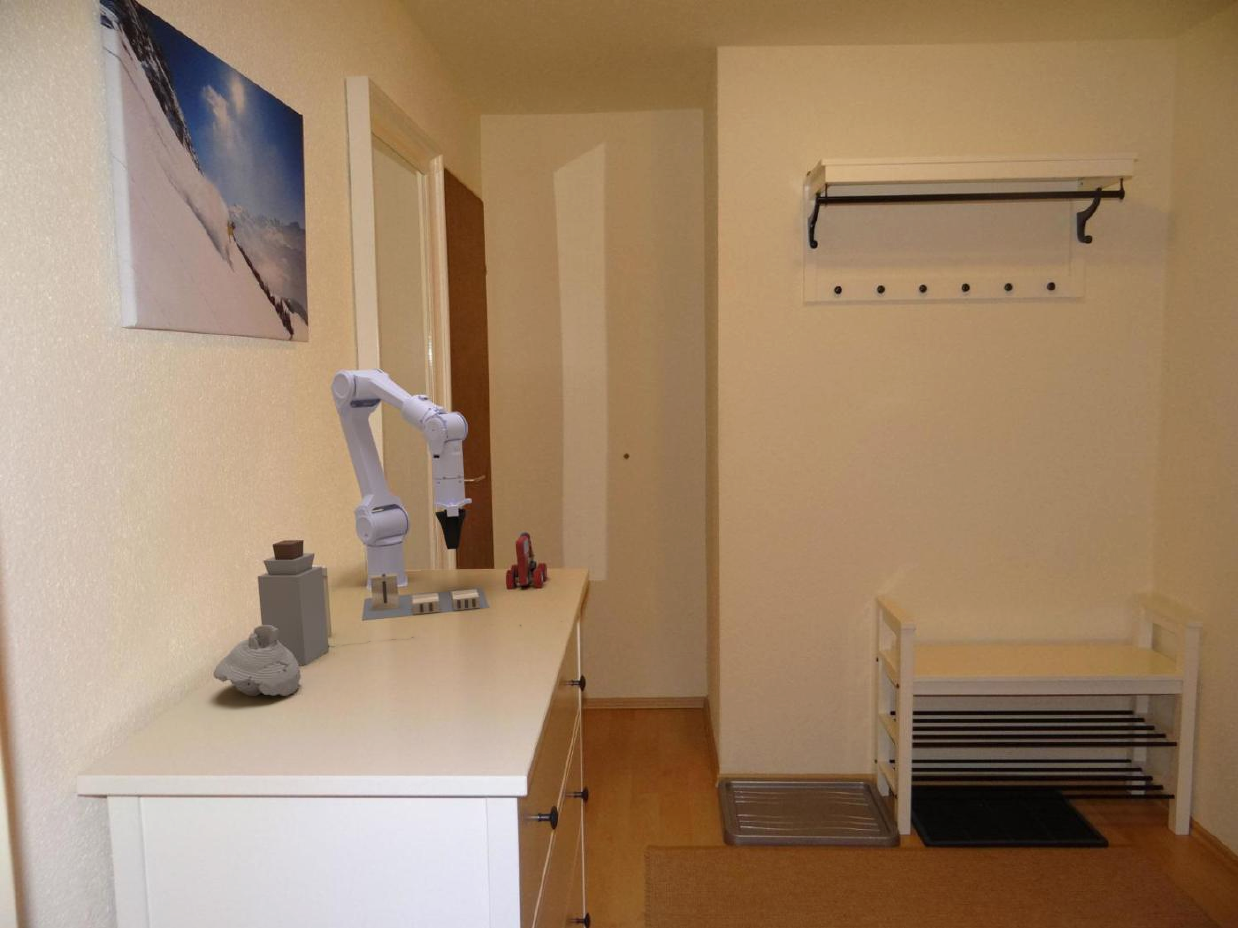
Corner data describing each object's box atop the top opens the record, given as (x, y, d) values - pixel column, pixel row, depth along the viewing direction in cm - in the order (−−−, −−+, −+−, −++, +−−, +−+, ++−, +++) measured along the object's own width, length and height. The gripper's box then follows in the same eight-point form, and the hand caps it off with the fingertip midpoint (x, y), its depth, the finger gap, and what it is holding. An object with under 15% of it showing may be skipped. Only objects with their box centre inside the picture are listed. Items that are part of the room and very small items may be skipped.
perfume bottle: (305, 665, 137) (296, 546, 135) (265, 664, 139) (255, 546, 137) (328, 651, 144) (319, 537, 142) (289, 650, 145) (280, 538, 143)
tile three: (451, 591, 168) (453, 599, 162) (476, 589, 169) (479, 596, 163) (452, 602, 168) (454, 611, 162) (476, 600, 169) (479, 608, 163)
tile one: (373, 607, 167) (370, 574, 166) (398, 605, 168) (396, 572, 167) (373, 610, 165) (370, 577, 164) (398, 608, 166) (396, 574, 165)
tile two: (412, 595, 166) (412, 603, 160) (437, 592, 167) (438, 600, 161) (412, 606, 166) (413, 615, 160) (438, 604, 167) (439, 612, 161)
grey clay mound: (320, 700, 129) (329, 633, 127) (247, 730, 119) (255, 657, 117) (267, 665, 135) (274, 600, 132) (192, 690, 125) (199, 620, 123)
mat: (365, 601, 174) (364, 598, 174) (481, 590, 179) (481, 587, 179) (361, 623, 159) (361, 620, 159) (489, 610, 164) (489, 607, 164)
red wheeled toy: (549, 578, 187) (546, 528, 186) (540, 593, 175) (537, 540, 174) (515, 579, 188) (512, 529, 186) (504, 594, 175) (501, 541, 174)
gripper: (473, 480, 167) (477, 553, 168) (466, 471, 181) (470, 539, 182) (433, 483, 165) (438, 557, 166) (430, 474, 179) (434, 542, 180)
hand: (452, 548), depth 174 cm, fingers closed
